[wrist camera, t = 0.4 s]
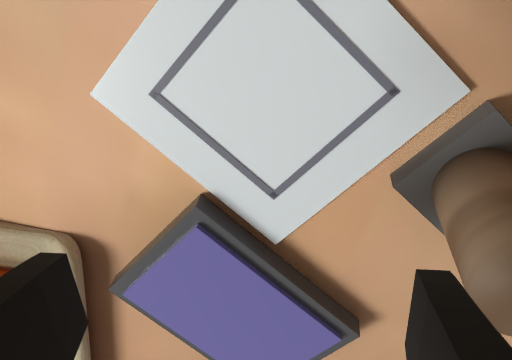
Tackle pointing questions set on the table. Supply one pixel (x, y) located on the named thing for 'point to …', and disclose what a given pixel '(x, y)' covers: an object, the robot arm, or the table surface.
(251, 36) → the card sheet
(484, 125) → the stamp
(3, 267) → the wooden puzzle
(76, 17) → the table surface
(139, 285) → the ink pad
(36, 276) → the robot arm
